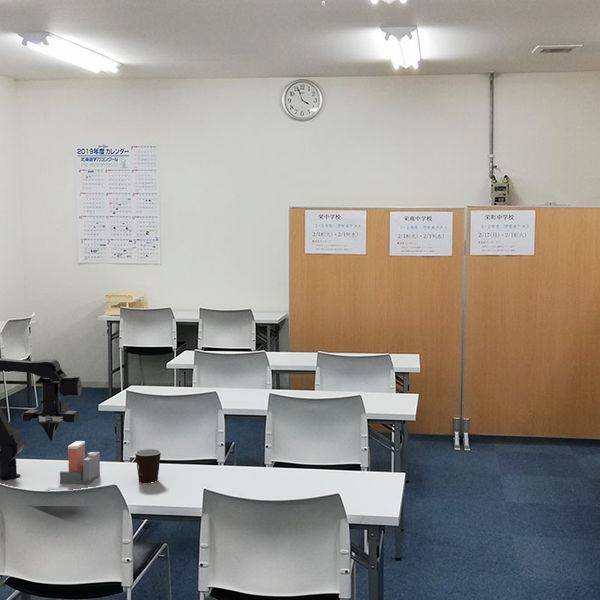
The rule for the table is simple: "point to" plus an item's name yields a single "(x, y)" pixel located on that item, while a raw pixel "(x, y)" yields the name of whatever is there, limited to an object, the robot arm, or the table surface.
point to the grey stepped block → (89, 471)
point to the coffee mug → (148, 465)
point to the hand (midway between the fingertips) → (51, 440)
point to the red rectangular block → (76, 456)
